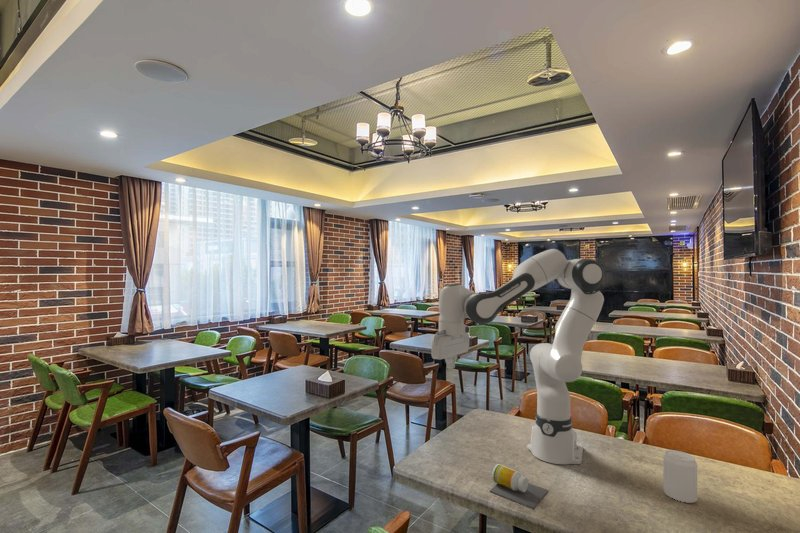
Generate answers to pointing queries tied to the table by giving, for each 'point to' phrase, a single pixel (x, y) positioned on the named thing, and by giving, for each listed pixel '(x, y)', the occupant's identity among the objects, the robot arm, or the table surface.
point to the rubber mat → (521, 494)
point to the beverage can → (680, 476)
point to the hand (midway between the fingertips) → (450, 368)
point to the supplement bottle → (509, 478)
